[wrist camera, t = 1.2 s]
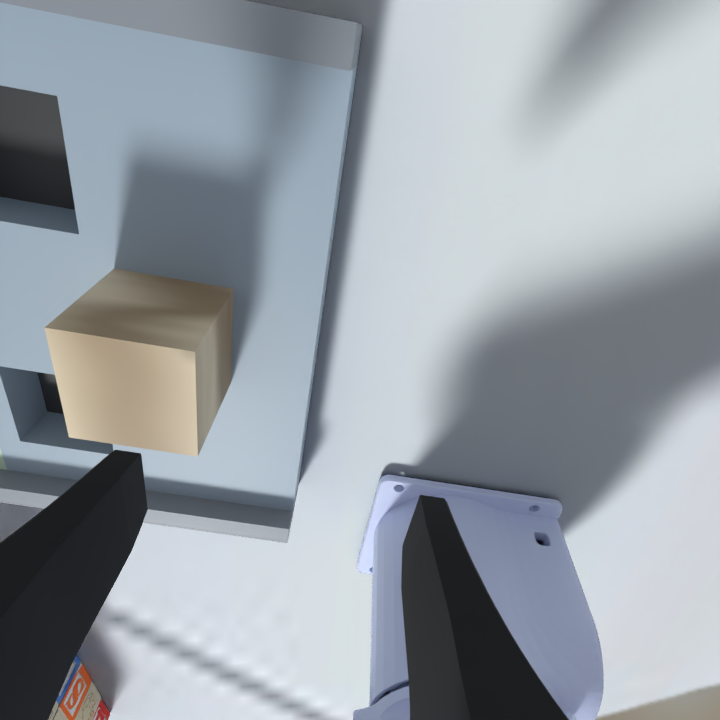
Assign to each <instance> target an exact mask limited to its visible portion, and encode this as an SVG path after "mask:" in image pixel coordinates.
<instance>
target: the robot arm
mask: <svg viewBox="0 0 720 720" xmlns="http://www.w3.org/2000/svg"><path fill="white" fill-rule="evenodd" d="M396 485H401V486H396ZM533 505H534V506H533ZM147 510H148V507H147V499H146V490H145V482H144V473H143V465H142V456H141V453H135V452H129V451H122V450H114V451H112V452H111V453H110V454H109V455H107V456H106V457H105V458H104V459H103V460H102V461H100V462H99V463H98V464H97V465H96V466H95V467H94V468H92V469H91V470H90V471H89V472H88V473H87V474H85V475H84V476H83V477H82V478H81V479H80V480H78V481H77V482H76V483H75V484H74V485H73V486H71V487H70V488H69V489H68V490H67V491H65V492H64V493H63V494H62V495H61V496H59V497H58V498H57V499H56V500H54V501H53V502H52V503H51V504H50V505H48V506H47V507H46V508H45V509H43V510H42V511H41V512H40V513H38V514H37V515H36V516H35V517H33V518H32V519H31V520H30V521H28V522H27V523H26V524H25V525H23V526H22V527H21V528H19V529H18V530H17V531H15V532H14V533H13V534H11V535H10V536H9V537H7V538H6V539H5V540H3V541H2V542H1V543H0V720H48V719H49V716H50V714H51V712H52V709H53V707H54V705H55V702H56V700H57V698H58V695H59V693H60V691H61V688H62V686H63V684H64V681H65V679H66V677H67V674H68V672H69V670H70V667H71V665H72V663H73V661H74V659H75V657H76V655H77V653H78V651H79V649H80V647H81V645H82V643H83V641H84V639H85V637H86V635H87V633H88V631H89V630H90V628H91V626H92V624H93V622H94V620H95V618H96V616H97V615H98V613H99V611H100V609H101V607H102V605H103V603H104V602H105V600H106V598H107V596H108V594H109V592H110V590H111V589H112V587H113V585H114V583H115V581H116V579H117V577H118V575H119V574H120V572H121V570H122V568H123V566H124V564H125V562H126V560H127V558H128V556H129V555H130V553H131V551H132V548H133V546H134V543H135V541H136V538H137V536H138V534H139V531H140V528H141V526H142V523H143V521H144V518H145V515H146V513H147ZM562 512H563V508H562V505H561V502H559V501H558V500H555V499H548V498H541V497H535V496H528V495H521V494H515V493H508V492H502V491H495V490H488V489H482V488H475V487H468V486H462V485H455V484H448V483H442V482H435V481H429V480H422V479H415V478H409V477H402V476H395V475H385V476H383V477H381V478H380V480H379V483H378V487H377V491H376V494H375V498H374V502H373V505H372V509H371V513H370V516H369V520H368V524H367V527H366V531H365V535H364V538H363V542H362V546H361V549H360V553H359V557H358V560H357V570H358V571H359V572H361V573H365V574H372V575H373V576H372V618H371V659H370V701H369V707H367V708H364V709H359V710H355V711H354V715H353V720H595V719H596V716H597V714H598V711H599V708H600V705H601V701H602V695H603V661H602V653H601V647H600V641H599V637H598V633H597V629H596V626H595V623H594V620H593V617H592V614H591V612H590V609H589V606H588V603H587V600H586V598H585V595H584V592H583V589H582V586H581V584H580V581H579V578H578V575H577V572H576V570H575V567H574V564H573V561H572V558H571V556H570V553H569V550H568V547H567V545H566V542H565V539H564V536H563V533H562V531H561V528H560V525H559V522H558V519H559V517H560V515H561V514H562Z"/></svg>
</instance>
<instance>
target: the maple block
mask: <svg viewBox="0 0 720 720" xmlns="http://www.w3.org/2000/svg"><path fill="white" fill-rule="evenodd" d="M44 328H45V333H46V337H47V342H48V346H49V350H50V355H51V359H52V364H53V368H54V373H55V377H56V382H57V386H58V391H59V395H60V400H61V404H62V408H63V413H64V417H65V422H66V426H67V431H68V435H69V437H70V438H76V439H83V440H90V441H96V442H103V443H110V444H116V445H123V446H130V447H137V448H143V449H150V450H157V451H163V452H170V453H177V454H183V455H190V456H197V457H198V455H199V453H200V451H201V449H202V446H203V444H204V442H205V440H206V437H207V435H208V433H209V431H210V428H211V426H212V424H213V422H214V420H215V417H216V415H217V413H218V411H219V408H220V406H221V404H222V402H223V399H224V397H225V395H226V393H227V391H228V388H229V386H230V384H231V372H232V330H233V288H227V287H221V286H215V285H209V284H203V283H197V282H191V281H185V280H180V279H174V278H168V277H162V276H156V275H150V274H144V273H138V272H132V271H126V270H120V269H113V270H112V271H110V272H109V273H108V274H107V275H106V276H105V277H103V278H102V279H101V280H100V281H99V282H98V283H96V284H95V285H94V286H93V287H92V288H90V289H89V290H88V291H87V292H86V293H85V294H83V295H82V296H81V297H80V298H79V299H77V300H76V301H75V302H74V303H73V304H72V305H70V306H69V307H68V308H67V309H66V310H64V311H63V312H62V313H61V314H60V315H59V316H57V317H56V318H55V319H54V320H53V321H51V322H50V323H49V324H48V325H47V326H46V327H44Z"/></svg>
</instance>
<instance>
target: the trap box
mask: <svg viewBox="0 0 720 720" xmlns="http://www.w3.org/2000/svg"><path fill="white" fill-rule="evenodd" d="M362 29H363V26H362V25H361V24H359V23H357V22H352V21H347V20H342V19H337V18H332V17H327V16H322V15H317V14H312V13H307V12H303V11H298V10H293V9H288V8H283V7H278V6H273V5H268V4H263V3H258V2H253V1H248V0H0V503H7V504H15V505H22V506H29V507H36V508H43V509H45V508H46V507H47V506H48V505H50V504H51V503H52V502H53V501H54V500H56V499H57V498H58V497H59V496H61V495H62V494H63V493H64V492H65V491H67V490H68V489H69V488H70V487H71V486H73V485H74V484H75V483H76V482H77V481H78V480H80V479H81V478H82V477H83V476H84V475H85V474H87V473H88V472H89V471H90V470H91V469H92V468H94V467H95V466H96V465H97V464H98V463H99V462H100V461H102V460H103V459H104V458H105V457H106V456H107V455H109V454H110V453H111V452H112V451H114V450H122V451H129V452H135V453H141V456H142V465H143V473H144V482H145V490H146V499H147V507H148V510H147V513H146V515H145V518H144V521H143V523H149V524H156V525H163V526H170V527H178V528H185V529H192V530H199V531H206V532H213V533H220V534H227V535H234V536H241V537H248V538H255V539H263V540H270V541H277V542H284V543H287V542H288V537H289V532H290V526H291V521H292V516H293V511H294V506H295V501H296V496H297V490H298V485H299V478H300V471H301V464H302V457H303V450H304V443H305V435H306V428H307V421H308V414H309V407H310V400H311V393H312V386H313V378H314V371H315V364H316V357H317V350H318V343H319V336H320V328H321V321H322V314H323V307H324V300H325V293H326V286H327V279H328V271H329V264H330V257H331V250H332V243H333V236H334V229H335V221H336V214H337V207H338V200H339V193H340V186H341V179H342V172H343V164H344V157H345V150H346V143H347V136H348V129H349V122H350V114H351V107H352V100H353V93H354V86H355V79H356V72H357V65H358V57H359V50H360V43H361V36H362ZM113 269H120V270H126V271H132V272H138V273H144V274H150V275H156V276H162V277H168V278H174V279H180V280H185V281H191V282H197V283H203V284H209V285H215V286H221V287H227V288H233V330H232V372H231V384H230V386H229V388H228V391H227V393H226V395H225V397H224V399H223V402H222V404H221V406H220V408H219V411H218V413H217V415H216V417H215V420H214V422H213V424H212V426H211V428H210V431H209V433H208V435H207V437H206V440H205V442H204V444H203V446H202V449H201V451H200V453H199V455H198V457H197V456H190V455H183V454H177V453H170V452H163V451H157V450H150V449H143V448H137V447H130V446H123V445H116V444H110V443H103V442H96V441H90V440H83V439H76V438H70V437H69V435H68V431H67V426H66V422H65V417H64V413H63V408H62V404H61V400H60V395H59V391H58V386H57V382H56V377H55V373H54V368H53V364H52V359H51V355H50V350H49V346H48V342H47V337H46V333H45V328H44V327H46V326H47V325H48V324H49V323H50V322H51V321H53V320H54V319H55V318H56V317H57V316H59V315H60V314H61V313H62V312H63V311H64V310H66V309H67V308H68V307H69V306H70V305H72V304H73V303H74V302H75V301H76V300H77V299H79V298H80V297H81V296H82V295H83V294H85V293H86V292H87V291H88V290H89V289H90V288H92V287H93V286H94V285H95V284H96V283H98V282H99V281H100V280H101V279H102V278H103V277H105V276H106V275H107V274H108V273H109V272H110V271H112V270H113Z"/></svg>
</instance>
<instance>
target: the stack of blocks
mask: <svg viewBox="0 0 720 720" xmlns="http://www.w3.org/2000/svg"><path fill="white" fill-rule="evenodd" d="M109 716H110V712H109V710H108V709H107V707H106V706H105V704H104V702H103V701H102V699H101V695H100V693H99V692H98V690H97V688H96V686H95V685H94V683H93V682H92V681H91V678H90V676H89V674H88V672H87V671H86V669H85V667H84V665H83V663H81V662H80V660H79V658H78V656H77V655H76V657H75V659H74V661H73V663H72V665H71V667H70V670H69V672H68V674H67V677H66V679H65V681H64V684H63V686H62V688H61V691H60V693H59V695H58V698H57V700H56V702H55V705H54V707H53V709H52V712H51V714H50V716H49V719H48V720H108V718H109Z"/></svg>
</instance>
